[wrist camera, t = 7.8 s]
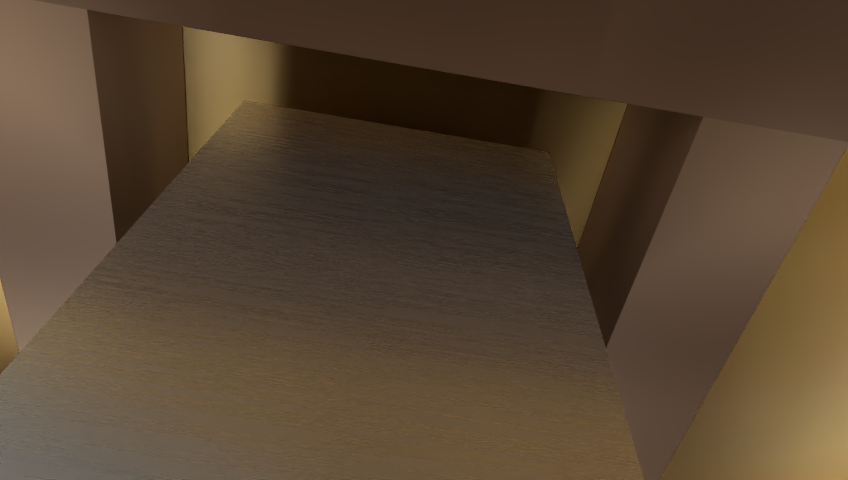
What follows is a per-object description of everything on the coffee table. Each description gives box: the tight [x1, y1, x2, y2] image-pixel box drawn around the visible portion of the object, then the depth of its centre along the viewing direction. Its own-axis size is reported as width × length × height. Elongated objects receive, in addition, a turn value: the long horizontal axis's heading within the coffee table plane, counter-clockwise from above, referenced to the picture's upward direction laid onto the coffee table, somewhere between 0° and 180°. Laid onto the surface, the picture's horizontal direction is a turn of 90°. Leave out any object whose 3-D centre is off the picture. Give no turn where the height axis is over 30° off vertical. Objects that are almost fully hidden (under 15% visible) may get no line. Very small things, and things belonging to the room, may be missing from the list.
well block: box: [0, 0, 848, 480], centre depth 11 cm, size 12×12×3 cm
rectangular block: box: [0, 101, 644, 480], centre depth 8 cm, size 5×5×8 cm
